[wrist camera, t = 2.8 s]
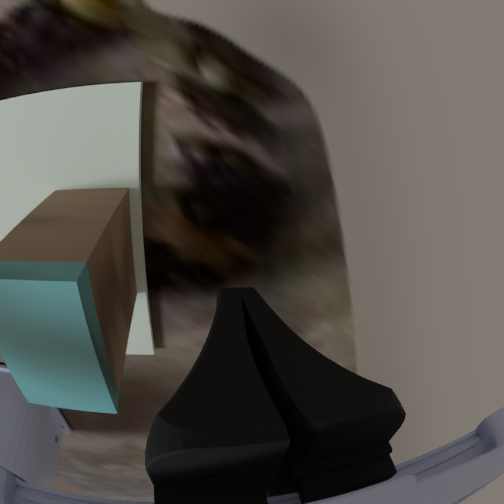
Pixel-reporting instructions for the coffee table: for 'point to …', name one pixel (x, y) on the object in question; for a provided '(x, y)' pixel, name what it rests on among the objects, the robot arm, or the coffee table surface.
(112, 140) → the sage mat
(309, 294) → the coffee table surface
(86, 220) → the walnut block
